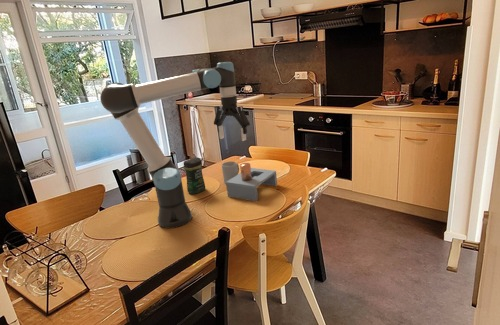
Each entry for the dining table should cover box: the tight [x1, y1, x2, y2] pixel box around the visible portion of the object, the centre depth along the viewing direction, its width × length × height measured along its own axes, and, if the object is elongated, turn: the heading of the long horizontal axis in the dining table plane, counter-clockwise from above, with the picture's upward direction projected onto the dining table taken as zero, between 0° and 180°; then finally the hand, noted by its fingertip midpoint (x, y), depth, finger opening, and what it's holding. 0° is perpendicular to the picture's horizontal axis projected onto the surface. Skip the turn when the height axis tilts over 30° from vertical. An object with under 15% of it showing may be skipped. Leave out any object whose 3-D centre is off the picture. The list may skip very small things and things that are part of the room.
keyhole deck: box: [225, 167, 278, 202], centre depth 175 cm, size 22×17×8 cm
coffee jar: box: [183, 156, 206, 195], centre depth 181 cm, size 10×8×19 cm
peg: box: [239, 162, 252, 181], centre depth 170 cm, size 5×5×15 cm
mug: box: [221, 160, 240, 185], centre depth 191 cm, size 12×8×11 cm
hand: (232, 139), depth 165 cm, fingers open, 13 cm apart
